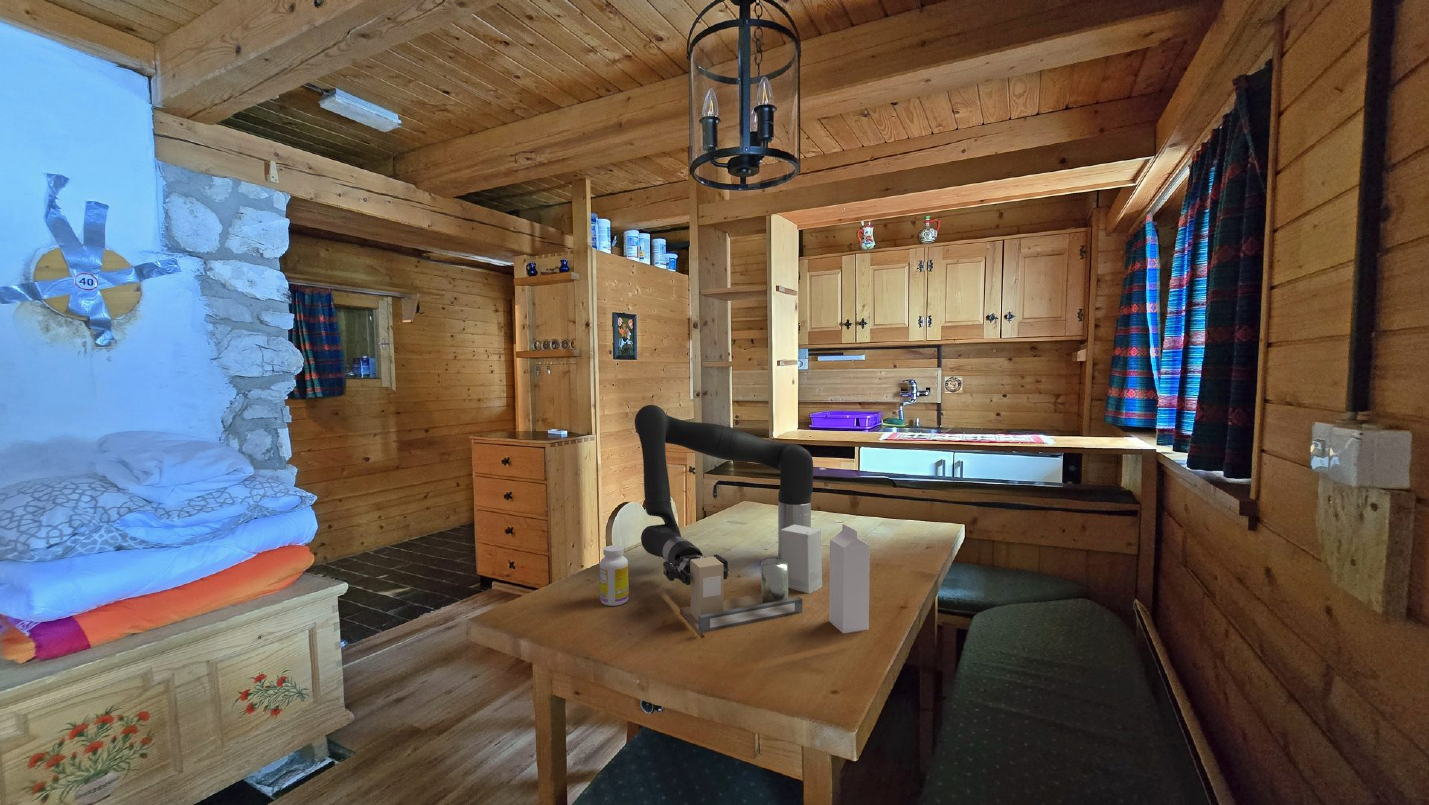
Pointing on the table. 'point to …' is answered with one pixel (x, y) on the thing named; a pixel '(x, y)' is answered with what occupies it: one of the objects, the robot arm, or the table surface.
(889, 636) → the table surface
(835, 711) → the table surface
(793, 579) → the skincare box
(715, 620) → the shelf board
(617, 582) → the supplement bottle
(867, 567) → the milk
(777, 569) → the oat tin
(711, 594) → the kraft carton
